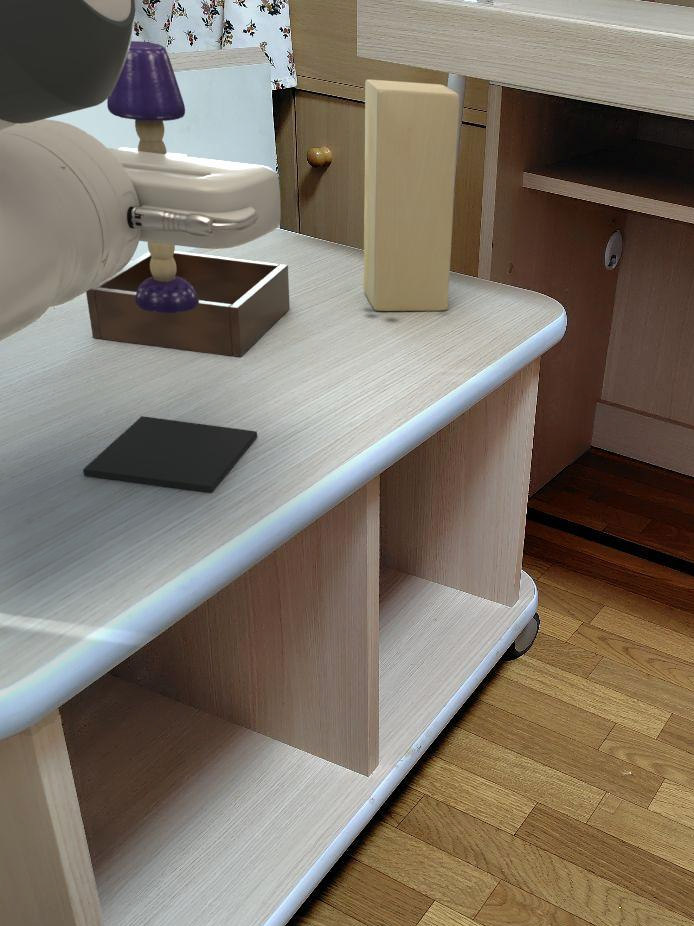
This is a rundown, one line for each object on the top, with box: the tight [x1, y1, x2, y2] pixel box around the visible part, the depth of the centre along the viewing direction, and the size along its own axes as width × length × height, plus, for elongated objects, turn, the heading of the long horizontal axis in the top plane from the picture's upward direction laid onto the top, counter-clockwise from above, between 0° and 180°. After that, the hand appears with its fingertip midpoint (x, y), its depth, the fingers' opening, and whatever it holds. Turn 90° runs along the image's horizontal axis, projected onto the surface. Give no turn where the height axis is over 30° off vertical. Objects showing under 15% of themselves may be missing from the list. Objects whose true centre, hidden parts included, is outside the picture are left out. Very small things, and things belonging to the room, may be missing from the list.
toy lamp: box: [106, 40, 199, 313], centre depth 65 cm, size 5×5×17 cm
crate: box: [85, 250, 291, 358], centre depth 93 cm, size 14×14×4 cm
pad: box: [82, 415, 258, 493], centre depth 71 cm, size 9×9×1 cm
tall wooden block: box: [363, 78, 460, 312], centre depth 100 cm, size 8×7×21 cm
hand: (159, 164), depth 66 cm, fingers closed on toy lamp
